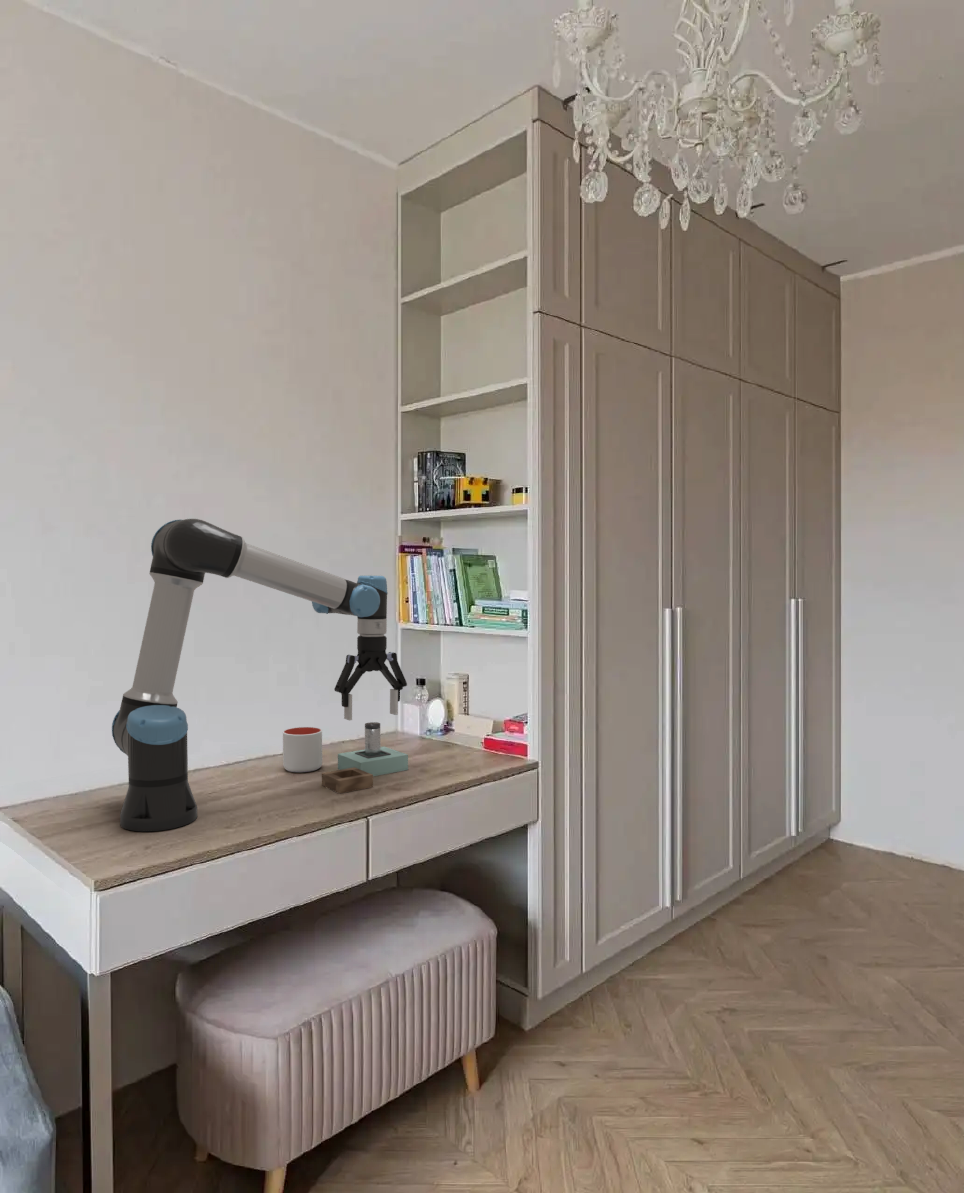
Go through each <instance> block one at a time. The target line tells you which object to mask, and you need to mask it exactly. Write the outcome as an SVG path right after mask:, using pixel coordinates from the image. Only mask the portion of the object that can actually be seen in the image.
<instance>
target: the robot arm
mask: <svg viewBox="0 0 964 1193" xmlns="http://www.w3.org/2000/svg"><path fill="white" fill-rule="evenodd" d="M150 550H151V551H150V552H151V556H152V559H151V563H150V570H149V575H150V576H151V578H152V580H153V582H154V584H153V590H152V595H151V597H150V598H151V599H150V602H149V603H150V604H149V608H148V613H147V618H146V622H145V627H144V631H143V635H142V641H141V646H140V650H139V655H138V659H137V664H136V669H135V673H134V678H133V682H132V685H131V688H130V689H128V690H127V691H125V692H124V693H122V699H121V703H120V708H119V710H118V711H117V713H116V714H115V715H114V717H113V720H112V723H111V736H112V738H113V742H114V743H115V745H116V747H117V748H119V750H120V751H121V752H122V753H123V754H125V755H126V756H127V763H128V765H127V766H128V767H127V771H128V772H127V773H128V774H127V775H128V788H127V791H126V794H125V798H124V801H123V804H122V808H121V811H120V813H119V820H120V827H121V828H122V829H124V830H129V831H132V832H159V831H167V830H171V829H172V830H173V829H176V828H181V827H183V826H186V825H189V824H190V823H193V822H195V821H196V819H197V818H198V806H197V803H196V800H195V797H194V795H193V794H194V793H193V792H192V789H191V786H190V784H189V783H190V782H189V774H188V773H189V771H188V770H189V769H188V768H189V767H188V766H189V765H188V729H189V724H188V722H187V721H188V720H187V715H186V713H185V712H184V710H182V709H181V708H180V707H178V703H179V702H178V701H179V700H177V698H176V697H175V695H174V694H173V693H174V688H175V683H176V680H177V673H178V669H179V663H180V660H181V655H182V650H183V646H184V642H185V641H184V640H185V636H186V631H187V626H188V621H189V617H190V612H191V607H192V603H193V598H194V593H195V590H196V589H197V588H198V587H200V586H202V585H203V584H204V581H205V575H206V574H210V575H215V576H220V577H223V578H225V579H230V578H231V577H237V578H240V579H243V580H246V581H250V582H253V583H255V584H259V585H261V586H265V587H267V588H270V589H274V590H277V591H280V592H283V593H286V594H289V595H292V596H294V597H297V598H300V599H304V600H306V601H310V602H311V604H312V608H313V610H314V612H316V613H317V614H326V615H327V614H340V615H346V616H354V617H357V629H356V630H357V631H356V634H358V636H357V638H356V639H357V642H356V643H357V644H356V645H357V647H356V649H357V654H356V655H351V654H347V655H346V657H345V664H344V665H343V668H342V671H341V673H340V675H339V678H338V679H337V682H336V685H335V686H334V692H337V693H339V694H341V707H343V708H344V709H343V711H344V712H343V713H344V714H343V717H344V718H343V719H344V720H347V721H353V694H351V691H352V690H353V688H354V687H355V686H356V684H357V683H358V682H359V680H360V679H361V678H362V676H363V675H364V674H365V673H366V672H369V673H370V672H373V671H375V672H380V673H381V674H382V675H383V677H384V678H385V679H386V680H387V682H388V683H389V685H390V686H391V687H392V688H390V689H389V714H391V715H394V716H398V714H399V710H398V709H399V705H398V704H399V702H400V701H401V691H402V690H403V688H405V687H407V686H408V683H407V680H406V678H405V676H404V674H403V671H402V668H401V666H400V664H399V661H398V656H397V653H396V652H393V651H389V652H388V653H387V648H388V647H387V636H386V634H387V627H388V626H387V625H388V624H387V622H388V620H387V618H388V617H387V616H388V615H387V614H388V613H387V612H388V610H387V609H388V608H387V607H388V594H389V593H388V584H387V583H388V582H387V578H386V577H385V576H383V575H359V576H358V577H357V581H356V582H354V581H351V580H349V579H345V578H343V577H341V576H338V575H335V574H332V573H330V572H326V571H324V570H321V569H318V568H316V567H312V566H310V565H307V564H304V563H301V562H299V561H296V560H294V559H290V558H288V557H285V556H283V555H280V554H278V553H277V554H276V553H274V552H272V551H268V550H265V549H262V548H260V547H257V546H255V545H252V544H249V543H247V542H245V539H244V537H243V536H240V535H238V534H235V533H232V532H230V531H228V530H226V529H223V528H221V527H219V526H217V525H214V524H212V523H210V522H207V521H205V520H203V519H198V518H187V519H174V520H170V521H167V522H165V523H164V524H163V525H162V526H160V527H159V528H158V529H157V530H156V532H154V534H153V537H152V539H151V543H150ZM386 661H388V663H389V665H390V668H391V670H392V672H393V673H392V672H391V671H390V670H389V667H388V666H387V665H386ZM356 663H358V664H357V666H356V667H355V668H354V666H355V664H356ZM353 670H354V672H353ZM352 672H353V673H352Z"/></svg>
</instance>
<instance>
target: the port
mask: <svg viewBox="0 0 964 1193" xmlns="http://www.w3.org/2000/svg"><path fill="white" fill-rule="evenodd" d="M380 754H381V755H376V756H370V757H368V756H366V755H365V748H364V749H359V750H354V751H352V750H351V751H346V752H341V753H337V770H342V769H348V768H353V767H355V768H357V769H360V770H362V771H365V772H367V773H370V774H372V775H373V777H377V776H382V775H388V774H392V773H398V772H403V771H409V754H408V753H405V752H402V751H398V750H395V749H393V748H390V747H387V746H380Z"/></svg>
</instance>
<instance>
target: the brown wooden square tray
mask: <svg viewBox="0 0 964 1193" xmlns="http://www.w3.org/2000/svg"><path fill="white" fill-rule="evenodd" d="M321 786H323V787H324V788H327V789H329V790H331V791H332V792H335V793H338V794H344V793H351V792H354V791H355V792H356V791H360V790H365V789H370V788H374V776H373V775H372V774H370V773H367V772H365V771H362V770H360V769H357V768H355V767H353V768H348V769H342V770H339V769H337V770H332V771H325V772H321Z"/></svg>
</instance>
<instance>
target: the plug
mask: <svg viewBox="0 0 964 1193" xmlns="http://www.w3.org/2000/svg"><path fill="white" fill-rule="evenodd" d="M380 747H381V723H380V722H377V721H375V722H373V721H372V722H371V721H370V722H366V723H364V749H365V755H366V756H368V757H370V756H376V755H381V754H380Z"/></svg>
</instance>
